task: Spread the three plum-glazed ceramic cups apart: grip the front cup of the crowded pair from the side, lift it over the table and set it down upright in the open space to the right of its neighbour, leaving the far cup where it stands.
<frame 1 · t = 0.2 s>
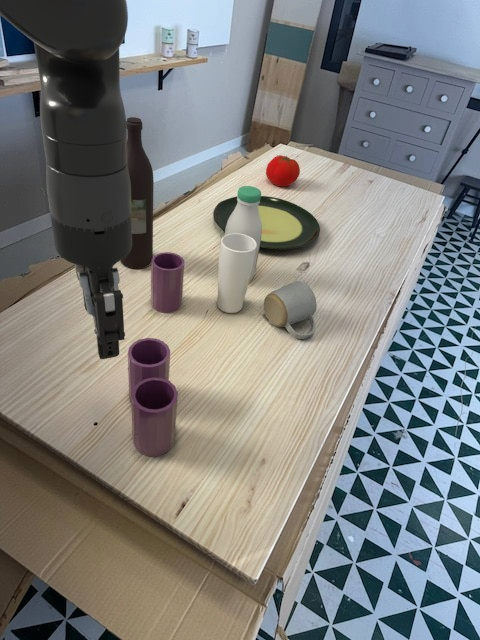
hand: (101, 331, 55), 20 cm above the worktop, tool pointing down, fingers open, 8 cm apart
ceramic mug: (290, 323, 93), on the worktop
pair cup: (148, 396, 74), on the worktop
plate: (265, 228, 122), on the worktop
wine bottle: (136, 261, 103), on the worktop
tomato: (280, 184, 144), on the worktop
milk bottle: (236, 275, 104), on the worktop
far cup: (166, 303, 93), on the worktop
drinking glass: (229, 306, 95), on the worktop
front cup: (153, 438, 68), on the worktop
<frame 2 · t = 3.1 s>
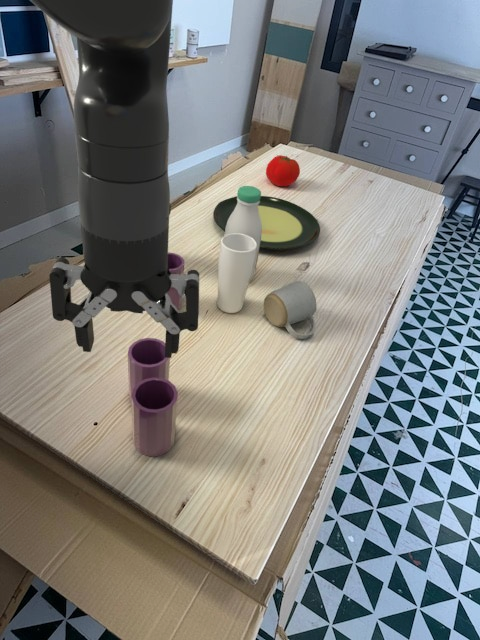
hand: (129, 349, 51), 22 cm above the worktop, tool pointing down, fingers open, 8 cm apart
nothing on the worktop moved.
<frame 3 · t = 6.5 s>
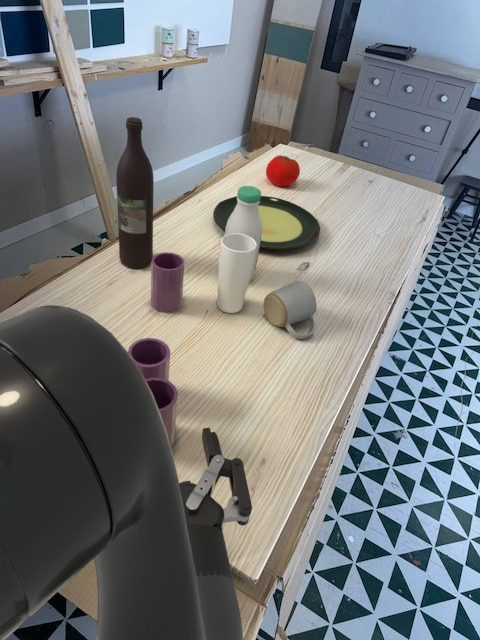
hand: (166, 436, 50), 16 cm above the worktop, tool horizontal, fingers open, 8 cm apart
nothing on the worktop moved.
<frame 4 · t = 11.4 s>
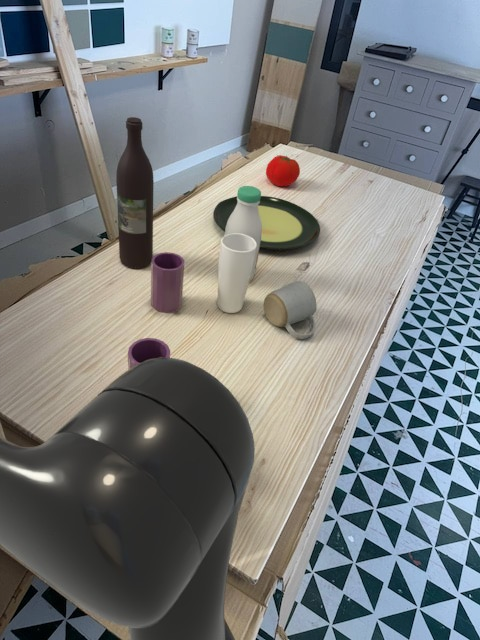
hand: (152, 399, 66), 6 cm above the worktop, tool horizontal, fingers closed on front cup, 6 cm apart
front cup: (153, 438, 68), on the worktop, touching gripper
everything else where it was.
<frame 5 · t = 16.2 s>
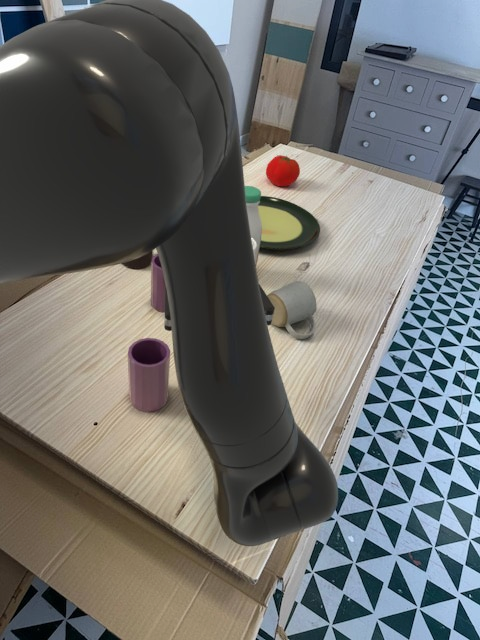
hand: (206, 272, 64), 22 cm above the worktop, tool horizontal, fingers closed on front cup, 6 cm apart
front cup: (205, 316, 66), point 16 cm above the worktop, touching gripper
everything else where it was.
when the fingers open (6 cm above the worktop, at t = 21.6 s): front cup stays where it is, on the worktop.
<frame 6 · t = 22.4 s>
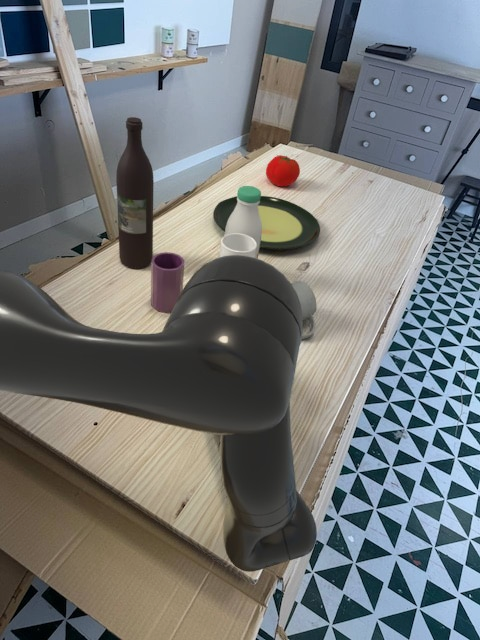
hand: (213, 337, 77), 7 cm above the worktop, tool horizontal, fingers open, 8 cm apart
front cup: (212, 372, 80), on the worktop
everything else where it was.
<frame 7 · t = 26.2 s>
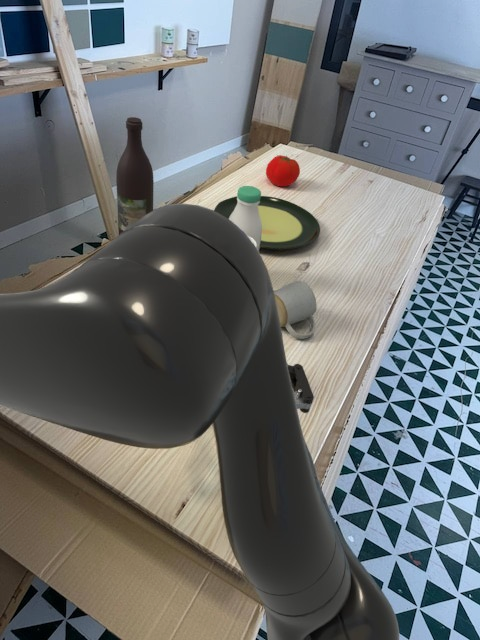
hand: (238, 349, 62), 16 cm above the worktop, tool horizontal, fingers open, 8 cm apart
nothing on the worktop moved.
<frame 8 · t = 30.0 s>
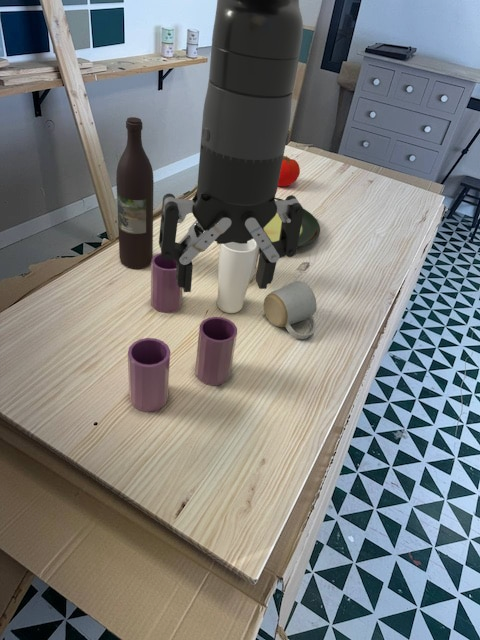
hand: (223, 286, 52), 28 cm above the worktop, tool pointing down, fingers open, 8 cm apart
nothing on the worktop moved.
at the end: front cup 0.1 cm from the target spot, on the worktop; front cup tilted 0°; far cup moved 0.0 cm from its start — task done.
